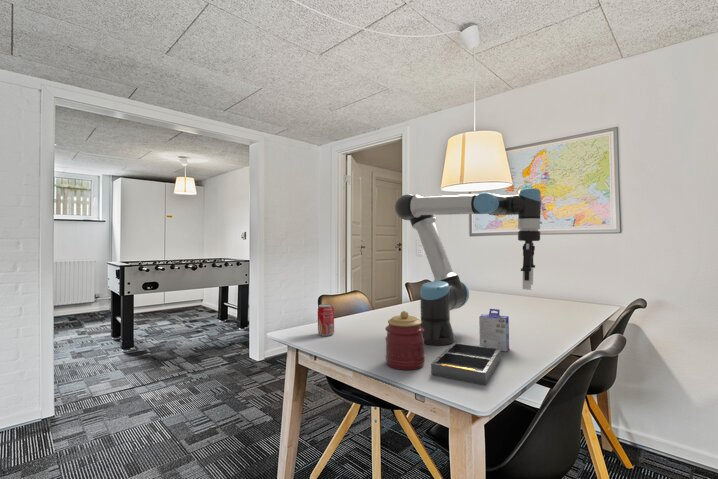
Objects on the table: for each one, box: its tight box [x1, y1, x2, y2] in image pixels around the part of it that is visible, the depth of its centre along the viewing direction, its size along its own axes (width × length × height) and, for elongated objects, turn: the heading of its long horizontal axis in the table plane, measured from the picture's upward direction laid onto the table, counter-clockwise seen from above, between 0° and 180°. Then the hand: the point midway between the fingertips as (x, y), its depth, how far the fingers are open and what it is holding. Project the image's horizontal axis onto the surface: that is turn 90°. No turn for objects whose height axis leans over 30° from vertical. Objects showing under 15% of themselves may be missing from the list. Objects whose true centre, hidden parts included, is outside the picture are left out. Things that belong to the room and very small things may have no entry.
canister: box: [385, 310, 426, 371], centre depth 120 cm, size 13×13×18 cm
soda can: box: [317, 303, 335, 337], centre depth 157 cm, size 7×7×13 cm
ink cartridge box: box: [478, 308, 510, 352], centre depth 135 cm, size 10×6×14 cm, turn 58°
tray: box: [430, 342, 502, 386], centre depth 116 cm, size 16×25×4 cm, turn 149°
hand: (528, 286), depth 134 cm, fingers open, 13 cm apart
